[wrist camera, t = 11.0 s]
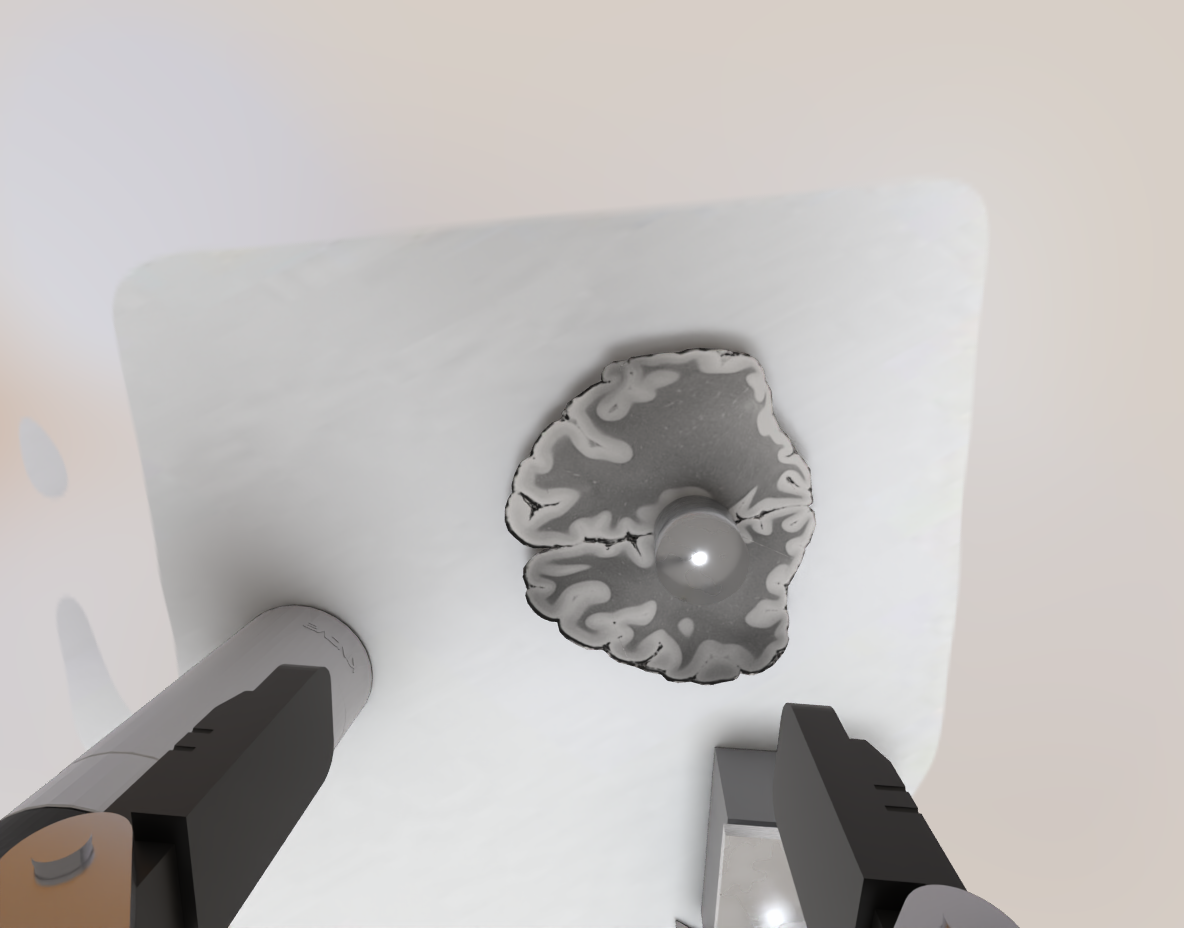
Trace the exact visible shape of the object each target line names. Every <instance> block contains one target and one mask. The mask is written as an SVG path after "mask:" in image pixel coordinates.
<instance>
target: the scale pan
mask: <svg viewBox="0 0 1184 928" xmlns="http://www.w3.org/2000/svg"><path fill="white" fill-rule="evenodd" d="M714 928H807V926H806V922H805V919H804V916H803V912H802V909H801V905H800V902H799V899H798V895H797V892H796V888H795V885H794V882H793V878H792V875H791V871H790V868H789V865H788V861H787V858H786V854H785V851H784V848H783V844H782V841H781V837H780V834H779V831H778V828H774V827H761V826H748V825H735V824H723V834H722V845H721V856H720V868H719V879H718V890H717V901H716V912H715V923H714Z"/></svg>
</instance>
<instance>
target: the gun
mask: <svg viewBox="0 0 1184 928" xmlns="http://www.w3.org/2000/svg"><path fill="white" fill-rule="evenodd" d="M676 928H688V927H687V926H685V925H683V924H681V923H680V922H678V921H676Z"/></svg>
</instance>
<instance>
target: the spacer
mask: <svg viewBox="0 0 1184 928" xmlns="http://www.w3.org/2000/svg"><path fill="white" fill-rule="evenodd" d="M653 536H654V550H655V563H656V570H657V574H658V577H659V579H660V581H661V583H662V585H663V586H664V587H665V589H666V590H667V591H668V592H669V593H670V594H672V595H673V596H674V597H676V598H677V599H679V600H681V601H684V602H687V603H690V604H695V605H708V604H714V603H717V602H720V601H722V600H724V599H726V598H728V597H730V596H731V595H732V594H734V593H735V592H736V591H737V590H738V589H739V587H740V586H741V585H742V583H743V582H744V580H745V578H746V576H747V572H748V568H749V553H748V549H747V546H746V544H745V542H744V540H743V538H742V536H741V533H740V531H739V529H738V527H737V525H736V523H735V521H734V519H733V517H732V515H731V514H730V512H729V511H728V510H727V508H726V507H725V506H723V505H722V504H721V503H719V502H718V501H716V500H714V499H712V498H709V497H706V496H699V495H691V496H685V497H682V498H679V499H677V500H675V501H673V502H671V503H670V504H669V505H667V506H666V507H665V508H664V509H663V510H662V512H661V513H660V514H659V516H658V518H657V520H656V523H655V526H654V533H653Z"/></svg>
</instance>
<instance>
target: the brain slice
mask: <svg viewBox="0 0 1184 928" xmlns="http://www.w3.org/2000/svg"><path fill="white" fill-rule="evenodd" d="M562 416H563V417H562V418H561V419H560V420H558V421H556V422H553V423H551V424H550V425H549V426H548V427H547V428H546V429H545V430H543V432H542V433H541V435H540V436H539V438H538V439H537V441H536V442H535V444H534V446H533V448H532V451H531V454H530V456H529V457H528V458H526V459H525V460H523V461H522V462H521V463H520V464H519V466H518V468H517V470H516V473H515V475H514V478H513V482H512V494H511V495H510V497H509V498H508V501H507V504H506V507H505V523H506V526H507V529H508V531H509V532H510V533H511V534H512V535H513V536H514V537H515V538H516V539H517V540H518V541H520V542H521V543H522V544H523V545H526V546H529V547H532V548H549V549H546V550H543V551H541V552H539V553H536V554H535V555H534V556H533V557H532V558H531V559H530V560H529V561H528V563H527V564H526V565H525V567H524V568H523V579H524V582H525V585H526V588H527V591H526V595H525V596H526V599H527V603H528V604H529V606H530V607H531V608H532V610H533V611H534V612H535V613H536V614H537V615H538V616H540V617H541V618H543V619H545V620H548V621H551V622H558V627H559V631H560V633H561V634H562V635H563V636H564V637H565V638H566V639H568V640H570V641H571V642H573V643H575V644H576V645H579V646H581V647H583V648H585V649H589V650H604V651H605V652H606V653H607V654H608V655H609V657H611V658H612V659H614V660H616V661H617V662H619V663H623V664H627V665H631V666H635V667H637V668H640V669H642V670H644V671H647V672H652V673H656V674H661V675H662V676H663V677H664V678H665V679H666V680H667V681H672V682H677V683H682V682H694V683H697V684H701V685H714V684H717V683H722V682H727V681H733V680H735V679H737V678H738V676H739V675H740V673H741V674H745V675H755V674H758V673H761V672H763V671H765V670H766V669H768V668H770V667H771V666H773V665H774V664H775V663H776V661H777V660H778V659H779V658H780V657H781V655H782V654H783V653H784V651H785V649H786V647H787V645H788V641H789V637H788V627H789V616H788V613H787V589H788V585H789V584H790V582H791V580H792V579H793V577H794V575H795V573H796V571H797V569H798V567H799V565H800V564H801V561H802V559H803V556H804V553H805V548H806V546H807V545H808V544H809V543H810V541H811V538H812V535H813V532H814V529H815V526H816V520H815V513H814V511H813V510H812V509H810V508H809V507H808V506H809V505H810V504H812V503H813V497H812V485H811V473H810V468H809V467H808V465H807V464H806V462H805V461H804V459H803V458H802V457H801V456H800V455H799V454H798V453H797V451H796V449H795V448H794V446H793V444H792V442H791V441H790V439H789V438H788V436H787V434H785V433H784V432H783V431H782V430H781V429H780V427H779V425H778V423H777V420H776V418H775V416H774V414H773V406H772V393H771V389H770V387H769V385H768V384H767V382H766V378H765V373H764V370H763V368H762V367H761V365H760V364H759V362H758V361H757V360H756V359H755V358H753V357H752V356H750V355H748V354H746V353H740V352H731V351H729V350H721V349H705V348H697V349H687V350H684V351H682V352H672V353H660V354H652V355H644V356H638V357H631V358H630V359H629V360H627V361H626V360H623V361H614V362H612V363H611V364H609V365H608V366H606V367H605V368H604V370H603V372H602V374H601V381H600V382H598V383H596V384H594V385H592V386H590V387H589V388H588V389H586V390H585V391H584V392H582V393H581V394H580V395H578V396H577V397H575V398H574V399H572V400H571V401H570V402H568V403H567V406H566V409H565V410H564V411H563V412H562ZM691 495H699V496H706V497H709V498H712V499H714V500H716V501H718V502H719V503H721V504H722V505H723V506H725V507H726V508H727V510H728V511H729V512H730V514H731V515H732V517H733V519H734V521H735V523H736V525H737V527H738V529H739V531H740V533H741V536H742V538H743V540H744V542H745V544H746V546H747V549H748V553H749V568H748V572H747V576H746V578H745V580H744V582H743V583H742V585H741V586H740V587H739V589H738V590H737V591H736V592H735V593H734V594H732V595H731V596H730V597H728V598H726V599H724V600H722V601H720V602H717V603H714V604H708V605H695V604H690V603H687V602H684V601H681V600H679V599H677V598H676V597H674V596H673V595H672V594H670V593H669V592H668V591H667V590H666V589H665V587H664V586H663V585H662V583H661V581H660V579H659V577H658V574H657V570H656V563H655V550H654V536H653V533H654V526H655V523H656V520H657V518H658V516H659V514H660V513H661V512H662V510H663V509H664V508H665V507H666V506H667V505H669V504H670V503H671V502H673V501H675V500H677V499H679V498H682V497H685V496H691Z"/></svg>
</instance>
